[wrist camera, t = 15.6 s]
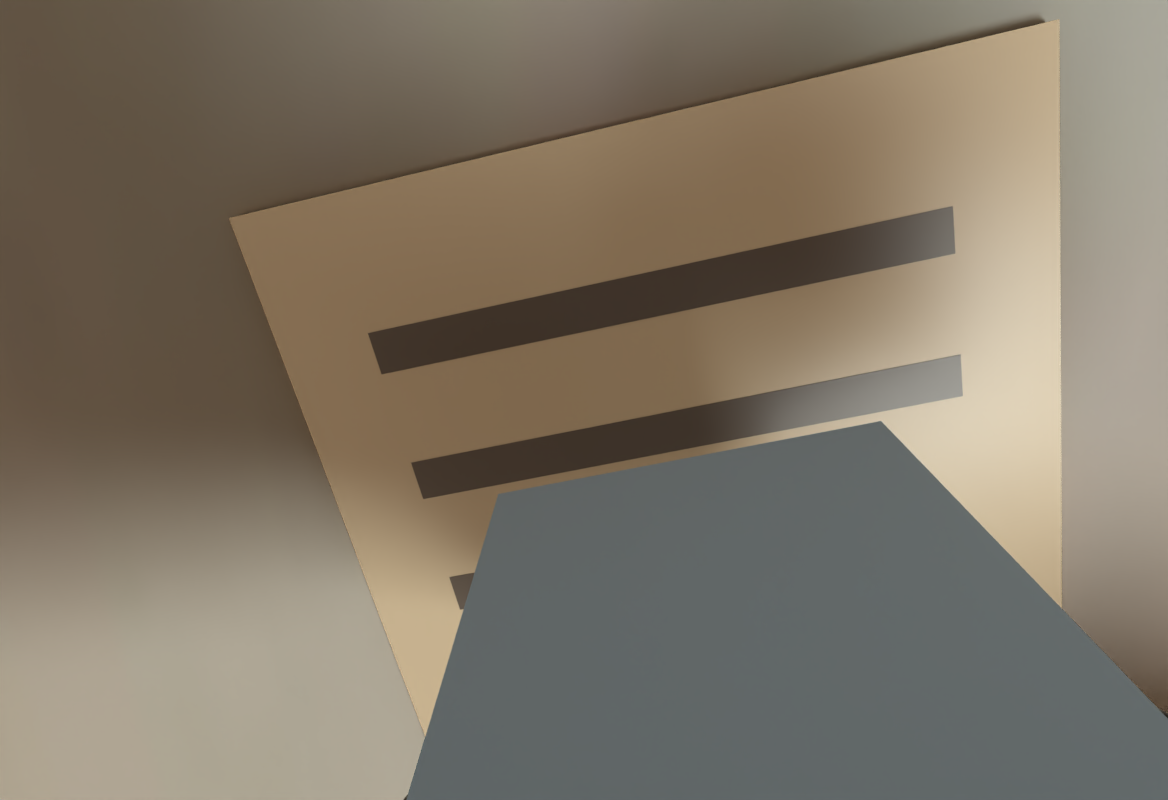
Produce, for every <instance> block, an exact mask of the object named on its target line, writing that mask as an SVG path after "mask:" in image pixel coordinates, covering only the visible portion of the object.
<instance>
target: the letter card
mask: <svg viewBox="0 0 1168 800" xmlns="http://www.w3.org/2000/svg"><path fill="white" fill-rule="evenodd" d="M229 220H230V223H231V226H232V228H233V231H234V233H235V236H236V239H237V241H238V244H239V247H240V249H241V252H242V255H243V257H244V260H245V263H246V265H247V268H248V270H249V273H250V276H251V278H252V281H253V284H254V286H255V289H256V292H257V294H258V297H259V299H260V302H261V305H262V307H263V310H264V313H265V315H266V318H267V321H268V323H269V326H270V328H271V331H272V334H273V336H274V339H275V342H276V344H277V347H278V350H279V352H280V355H281V357H282V360H283V363H284V365H285V368H286V371H287V373H288V376H289V379H290V381H291V384H292V386H293V389H294V392H295V394H296V397H297V400H298V402H299V405H300V408H301V410H302V413H303V416H304V418H305V421H306V423H307V426H308V429H309V431H310V434H311V437H312V439H313V442H314V445H315V447H316V450H317V452H318V455H319V458H320V460H321V463H322V466H323V468H324V471H325V474H326V476H327V479H328V481H329V484H330V487H331V489H332V492H333V495H334V497H335V500H336V503H337V505H338V508H339V510H340V513H341V516H342V518H343V521H344V524H345V526H346V529H347V532H348V534H349V537H350V539H351V542H352V545H353V547H354V550H355V553H356V555H357V558H358V561H359V563H360V566H361V568H362V571H363V574H364V576H365V579H366V582H367V584H368V587H369V590H370V592H371V595H372V598H373V600H374V603H375V605H376V608H377V611H378V613H379V616H380V619H381V621H382V624H383V627H384V629H385V632H386V634H387V637H388V640H389V642H390V645H391V648H392V650H393V653H394V656H395V658H396V661H397V663H398V666H399V669H400V671H401V674H402V677H403V679H404V682H405V685H406V687H407V690H408V692H409V695H410V698H411V700H412V703H413V706H414V708H415V711H416V714H417V716H418V719H419V721H420V724H421V727H422V729H423V732H424V735H425V736H426V733H427V730H428V726H429V723H430V720H431V716H432V713H433V710H434V706H435V703H436V700H437V696H438V693H439V690H440V686H441V683H442V680H443V676H444V673H445V670H446V666H447V663H448V660H449V656H450V653H451V650H452V646H453V643H454V640H455V636H456V633H457V630H458V626H459V623H460V620H461V616H462V613H463V610H464V606H465V603H466V600H467V596H468V593H469V590H470V586H471V583H472V580H473V576H474V573H475V570H476V567H477V563H478V560H479V557H480V553H481V550H482V547H483V543H484V540H485V537H486V533H487V530H488V527H489V523H490V520H491V517H492V513H493V510H494V507H495V503H496V500H497V497H498V494H501V493H506V492H511V491H516V490H522V489H527V488H532V487H537V486H543V485H548V484H553V483H558V482H564V481H569V480H574V479H579V478H585V477H590V476H595V475H600V474H606V473H611V472H616V471H621V470H627V469H632V468H637V467H642V466H648V465H653V464H658V463H663V462H669V461H674V460H679V459H684V458H690V457H695V456H700V455H705V454H711V453H716V452H721V451H726V450H731V449H737V448H742V447H747V446H752V445H758V444H763V443H768V442H773V441H779V440H784V439H789V438H794V437H800V436H805V435H810V434H815V433H821V432H826V431H831V430H836V429H842V428H847V427H852V426H857V425H863V424H868V423H873V422H878V421H882V422H883V423H884V424H885V426H886V427H887V428H888V429H889V430H890V431H891V432H892V433H893V434H894V435H895V436H896V437H897V438H898V439H899V440H900V441H901V442H902V443H903V444H904V445H905V446H906V447H907V448H908V449H909V450H910V451H911V453H912V454H913V455H914V456H915V457H916V458H917V459H918V460H919V461H920V462H921V463H922V464H923V465H924V466H925V467H926V468H927V469H928V470H929V471H930V472H931V473H932V474H933V475H934V476H935V477H936V478H937V480H938V481H939V482H940V483H941V484H942V485H943V486H944V487H945V488H946V489H947V490H948V491H949V492H950V493H951V494H952V495H953V496H954V497H955V498H956V499H957V500H958V501H959V502H960V503H961V504H962V505H963V507H964V508H965V509H966V510H967V511H968V512H969V513H970V514H971V515H972V516H973V517H974V518H975V519H976V520H977V521H978V522H979V523H980V524H981V525H982V526H983V527H984V528H985V529H986V530H987V531H988V532H989V534H990V535H991V536H992V537H993V538H994V539H995V540H996V541H997V542H998V543H999V544H1000V545H1001V546H1002V547H1003V548H1004V549H1005V550H1006V551H1007V552H1008V553H1009V554H1010V555H1011V556H1012V557H1013V558H1014V559H1015V561H1016V562H1017V563H1018V564H1019V565H1020V566H1021V567H1022V568H1023V569H1024V570H1025V571H1026V572H1027V573H1028V574H1029V575H1030V576H1031V577H1032V578H1033V579H1034V580H1035V581H1036V582H1037V583H1038V584H1039V585H1040V586H1041V588H1042V589H1043V590H1044V591H1045V592H1046V593H1047V594H1048V595H1049V596H1050V597H1051V598H1052V599H1053V600H1054V601H1055V602H1056V603H1057V604H1058V605H1059V606H1060V607H1061V608H1062V510H1061V281H1060V52H1059V19H1058V20H1054V21H1050V22H1045V23H1041V24H1037V25H1033V26H1029V27H1024V28H1020V29H1016V30H1012V31H1008V32H1004V33H999V34H995V35H991V36H987V37H983V38H979V39H974V40H970V41H966V42H962V43H958V44H953V45H949V46H945V47H941V48H937V49H933V50H928V51H924V52H920V53H916V54H912V55H908V56H903V57H899V58H895V59H891V60H887V61H882V62H878V63H874V64H870V65H866V66H862V67H857V68H853V69H849V70H845V71H841V72H837V73H832V74H828V75H824V76H820V77H816V78H811V79H807V80H803V81H799V82H795V83H791V84H786V85H782V86H778V87H774V88H770V89H766V90H761V91H757V92H753V93H749V94H745V95H740V96H736V97H732V98H728V99H724V100H720V101H715V102H711V103H707V104H703V105H699V106H695V107H690V108H686V109H682V110H678V111H674V112H669V113H665V114H661V115H657V116H653V117H649V118H644V119H640V120H636V121H632V122H628V123H624V124H619V125H615V126H611V127H607V128H603V129H598V130H594V131H590V132H586V133H582V134H578V135H573V136H569V137H565V138H561V139H557V140H553V141H548V142H544V143H540V144H536V145H532V146H527V147H523V148H519V149H515V150H511V151H507V152H502V153H498V154H494V155H490V156H486V157H481V158H477V159H473V160H469V161H465V162H461V163H456V164H452V165H448V166H444V167H440V168H436V169H431V170H427V171H423V172H419V173H415V174H410V175H406V176H402V177H398V178H394V179H390V180H385V181H381V182H377V183H373V184H369V185H365V186H360V187H356V188H352V189H348V190H344V191H339V192H335V193H331V194H327V195H323V196H319V197H314V198H310V199H306V200H302V201H298V202H294V203H289V204H285V205H281V206H277V207H273V208H268V209H264V210H260V211H256V212H252V213H248V214H243V215H239V216H235V217H231V218H229Z"/></svg>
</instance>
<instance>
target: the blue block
mask: <svg viewBox="0 0 1168 800" xmlns="http://www.w3.org/2000/svg"><path fill="white" fill-rule="evenodd" d="M406 800H1168V718H1167V717H1166V716H1165V715H1164V714H1163V713H1162V712H1161V711H1160V710H1159V709H1158V708H1157V707H1156V706H1155V705H1154V704H1153V703H1152V702H1151V701H1150V700H1149V699H1148V698H1147V697H1146V696H1145V694H1144V693H1143V692H1142V691H1141V690H1140V689H1139V688H1138V687H1137V686H1136V685H1135V684H1134V683H1133V682H1132V681H1131V680H1130V679H1129V678H1128V677H1127V676H1126V675H1125V674H1124V673H1123V672H1122V671H1121V670H1120V669H1119V667H1118V666H1117V665H1116V664H1115V663H1114V662H1113V661H1112V660H1111V659H1110V658H1109V657H1108V656H1107V655H1106V654H1105V653H1104V652H1103V651H1102V650H1101V649H1100V648H1099V647H1098V646H1097V645H1096V644H1095V643H1094V642H1093V640H1092V639H1091V638H1090V637H1089V636H1088V635H1087V634H1086V633H1085V632H1084V631H1083V630H1082V629H1081V628H1080V627H1079V626H1078V625H1077V624H1076V623H1075V622H1074V621H1073V620H1072V619H1071V618H1070V617H1069V616H1068V615H1067V613H1066V612H1065V611H1064V610H1063V609H1062V608H1061V607H1060V606H1059V605H1058V604H1057V603H1056V602H1055V601H1054V600H1053V599H1052V598H1051V597H1050V596H1049V595H1048V594H1047V593H1046V592H1045V591H1044V590H1043V589H1042V588H1041V586H1040V585H1039V584H1038V583H1037V582H1036V581H1035V580H1034V579H1033V578H1032V577H1031V576H1030V575H1029V574H1028V573H1027V572H1026V571H1025V570H1024V569H1023V568H1022V567H1021V566H1020V565H1019V564H1018V563H1017V562H1016V561H1015V559H1014V558H1013V557H1012V556H1011V555H1010V554H1009V553H1008V552H1007V551H1006V550H1005V549H1004V548H1003V547H1002V546H1001V545H1000V544H999V543H998V542H997V541H996V540H995V539H994V538H993V537H992V536H991V535H990V534H989V532H988V531H987V530H986V529H985V528H984V527H983V526H982V525H981V524H980V523H979V522H978V521H977V520H976V519H975V518H974V517H973V516H972V515H971V514H970V513H969V512H968V511H967V510H966V509H965V508H964V507H963V505H962V504H961V503H960V502H959V501H958V500H957V499H956V498H955V497H954V496H953V495H952V494H951V493H950V492H949V491H948V490H947V489H946V488H945V487H944V486H943V485H942V484H941V483H940V482H939V481H938V480H937V478H936V477H935V476H934V475H933V474H932V473H931V472H930V471H929V470H928V469H927V468H926V467H925V466H924V465H923V464H922V463H921V462H920V461H919V460H918V459H917V458H916V457H915V456H914V455H913V454H912V453H911V451H910V450H909V449H908V448H907V447H906V446H905V445H904V444H903V443H902V442H901V441H900V440H899V439H898V438H897V437H896V436H895V435H894V434H893V433H892V432H891V431H890V430H889V429H888V428H887V427H886V426H885V424H884V423H883V422H882V421H878V422H873V423H868V424H863V425H857V426H852V427H847V428H842V429H836V430H831V431H826V432H821V433H815V434H810V435H805V436H800V437H794V438H789V439H784V440H779V441H773V442H768V443H763V444H758V445H752V446H747V447H742V448H737V449H731V450H726V451H721V452H716V453H711V454H705V455H700V456H695V457H690V458H684V459H679V460H674V461H669V462H663V463H658V464H653V465H648V466H642V467H637V468H632V469H627V470H621V471H616V472H611V473H606V474H600V475H595V476H590V477H585V478H579V479H574V480H569V481H564V482H558V483H553V484H548V485H543V486H537V487H532V488H527V489H522V490H516V491H511V492H506V493H501V494H498V497H497V500H496V503H495V507H494V510H493V513H492V517H491V520H490V523H489V527H488V530H487V533H486V537H485V540H484V543H483V547H482V550H481V553H480V557H479V560H478V563H477V567H476V570H475V573H474V576H473V580H472V583H471V586H470V590H469V593H468V596H467V600H466V603H465V606H464V610H463V613H462V616H461V620H460V623H459V626H458V630H457V633H456V636H455V640H454V643H453V646H452V650H451V653H450V656H449V660H448V663H447V666H446V670H445V673H444V676H443V680H442V683H441V686H440V690H439V693H438V696H437V700H436V703H435V706H434V710H433V713H432V716H431V720H430V723H429V726H428V730H427V733H426V736H425V739H424V743H423V746H422V749H421V753H420V756H419V759H418V763H417V766H416V769H415V773H414V776H413V779H412V783H411V786H410V789H409V793H408V796H407V799H406Z"/></svg>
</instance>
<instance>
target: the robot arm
mask: <svg viewBox="0 0 1168 800" xmlns="http://www.w3.org/2000/svg"><path fill="white" fill-rule="evenodd" d="M1158 709H1159V708H1158ZM1159 710H1160V711H1161V712H1162V713H1163V714H1164V715H1165V716H1166V717H1167V718H1168V713H1166V712H1164V711H1163V710H1161V709H1159ZM407 796H408V795H407ZM407 796H406V797H405V798H404V800H406V799H407Z"/></svg>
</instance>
